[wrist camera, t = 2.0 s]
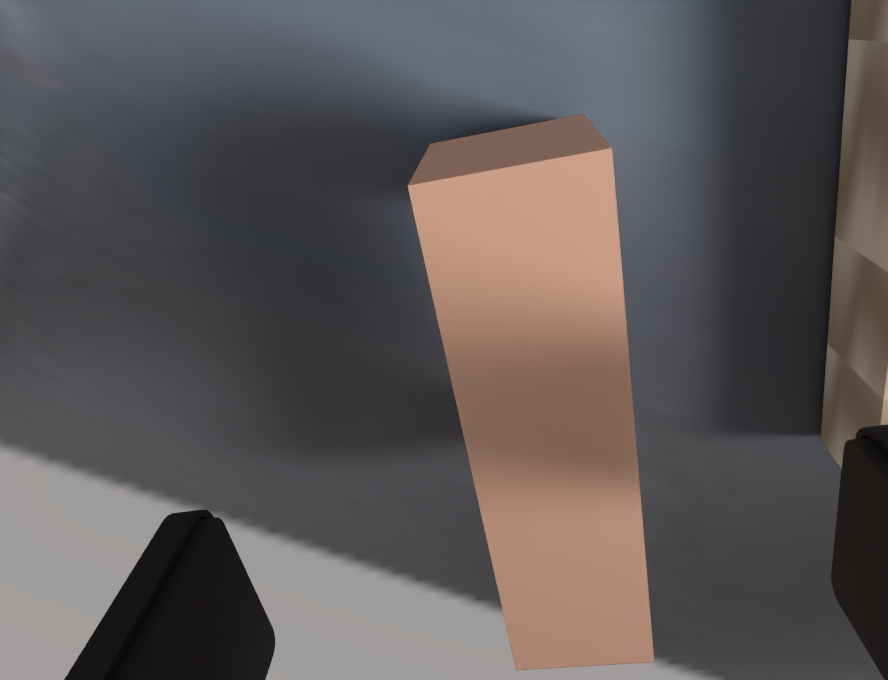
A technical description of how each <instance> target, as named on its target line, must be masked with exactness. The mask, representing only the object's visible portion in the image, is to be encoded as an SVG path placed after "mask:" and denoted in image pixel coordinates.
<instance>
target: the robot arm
mask: <svg viewBox="0 0 888 680" xmlns="http://www.w3.org/2000/svg"><path fill="white" fill-rule="evenodd" d="M831 580H832V586H833V590H834V593H835V596H836V598H837V600H838V602H839V604H840V606H841V608H842V609H843V611H844V613H845V614H846V616H847V618H848V619H849V621H850V623H851V624H852V626H853V628H854V629H855V631H856V633H857V634H858V636H859V638H860V639H861V641H862V643H863V644H864V646H865V648H866V649H867V651H868V653H869V654H870V656H871V658H872V659H873V661H874V663H875V664H876V666H877V668H878V669H879V671H880V673H881V674H882V676H883V678H884V679H885V680H888V424H887V425H879V426H871V427H863V428H861V429H859V430H858V432H857V433H856V437H855V439H852V440H848V441H846V443H845V445H844V450H843V460H842V471H841V481H840V491H839V501H838V511H837V522H836V532H835V542H834V552H833V563H832V573H831ZM274 648H275V636H274V631H273V628H272V626H271V623H270V622H269V619H268V617H267V615H266V613H265V610H264V608H263V606H262V604H261V602H260V600H259V598H258V595H257V593H256V591H255V589H254V587H253V585H252V583H251V581H250V578H249V576H248V574H247V572H246V570H245V568H244V565H243V563H242V561H241V559H240V557H239V555H238V553H237V550H236V548H235V546H234V544H233V542H232V540H231V538H230V535H229V533H228V531H227V529H226V527H225V524H224V523H223V521H222V520H221V519H220V518H217V517H215V518H214V517H213V515H212V514H211V513H210V512H209V511H208V510H196V511H188V512H180V513H172V514H170V515H168V516H167V517H166V518H165V519H164V520H163V522H162V524H161V525H160V527H159V528H158V530H157V532H156V533H155V535H154V536H153V538H152V540H151V541H150V543H149V545H148V546H147V548H146V549H145V551H144V552H143V554H142V556H141V557H140V559H139V561H138V562H137V564H136V565H135V567H134V569H133V570H132V572H131V573H130V575H129V577H128V578H127V580H126V582H125V583H124V585H123V586H122V588H121V590H120V591H119V593H118V594H117V596H116V597H115V599H114V601H113V602H112V604H111V606H110V607H109V609H108V610H107V612H106V614H105V615H104V617H103V618H102V620H101V622H100V623H99V625H98V627H97V628H96V630H95V631H94V633H93V635H92V636H91V638H90V639H89V641H88V643H87V644H86V646H85V648H84V649H83V651H82V652H81V654H80V655H79V657H78V659H77V660H76V662H75V663H74V665H73V667H72V668H71V670H70V671H69V673H68V675H67V676H66V678H65V679H64V680H265V679H266V676H267V673H268V670H269V667H270V663H271V660H272V657H273V653H274Z"/></svg>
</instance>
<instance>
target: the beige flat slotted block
mask: <svg viewBox="0 0 888 680" xmlns="http://www.w3.org/2000/svg"><path fill="white" fill-rule="evenodd" d="M887 424H888V0H851V14H850V28H849V43H848V57H847V71H846V86H845V100H844V114H843V128H842V143H841V157H840V171H839V186H838V200H837V214H836V228H835V243H834V257H833V271H832V286H831V300H830V314H829V328H828V343H827V357H826V371H825V386H824V400H823V414H822V429H821V442H822V443H823V445H824V446H825V447H826V449H827V450H828V451H829V453H830V454H831V455H832V457H833V458H834V459H835V461H836V462H837V463H838V465H839V466H840V467H841V469H842V460H843V450H844V445H845V443H846V441H848V440H852V439H855V437H856V433H857V432H858V430H859V429H861V428H863V427H871V426H879V425H887Z"/></svg>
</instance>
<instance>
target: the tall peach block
mask: <svg viewBox="0 0 888 680" xmlns="http://www.w3.org/2000/svg"><path fill="white" fill-rule="evenodd" d="M408 190H409V194H410V199H411V203H412V208H413V212H414V217H415V221H416V226H417V230H418V235H419V239H420V243H421V248H422V252H423V257H424V261H425V266H426V270H427V275H428V279H429V284H430V288H431V293H432V297H433V301H434V306H435V310H436V315H437V319H438V324H439V328H440V333H441V337H442V342H443V346H444V351H445V355H446V359H447V364H448V368H449V373H450V377H451V382H452V386H453V391H454V395H455V400H456V404H457V409H458V413H459V417H460V422H461V426H462V431H463V435H464V440H465V444H466V449H467V453H468V458H469V462H470V467H471V471H472V475H473V480H474V484H475V489H476V493H477V498H478V502H479V507H480V511H481V516H482V520H483V525H484V529H485V533H486V538H487V542H488V547H489V551H490V556H491V560H492V565H493V569H494V574H495V578H496V583H497V587H498V591H499V596H500V600H501V605H502V609H503V614H504V618H505V622H506V627H507V632H508V636H509V640H510V645H511V649H512V654H513V658H514V663H515V667H516V670H530V669H547V668H561V667H562V668H563V667H578V666H595V665H596V666H597V665H613V664H630V663H646V662H654V652H653V640H652V628H651V616H650V604H649V592H648V580H647V567H646V555H645V543H644V531H643V519H642V507H641V495H640V483H639V471H638V458H637V446H636V434H635V422H634V410H633V398H632V386H631V374H630V362H629V349H628V337H627V325H626V313H625V301H624V289H623V277H622V265H621V253H620V240H619V228H618V216H617V204H616V192H615V180H614V168H613V156H612V148H611V146H610V145H609V144H608V143H607V142H606V140H605V139H604V138H603V137H602V136H601V134H600V133H599V132H598V131H597V130H596V128H595V127H594V126H593V125H592V124H591V122H590V121H589V120H588V119H587V118H586V117H585V115H584V114H581V115H575V116H570V117H565V118H560V119H555V120H550V121H545V122H539V123H534V124H529V125H524V126H519V127H514V128H508V129H503V130H498V131H493V132H488V133H483V134H478V135H472V136H467V137H462V138H457V139H452V140H447V141H441V142H436V143H431V144H430V145H429V147H428V149H427V151H426V152H425V154H424V156H423V158H422V160H421V162H420V164H419V165H418V167H417V169H416V171H415V173H414V175H413V177H412V178H411V180H410V182H409V184H408Z"/></svg>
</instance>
